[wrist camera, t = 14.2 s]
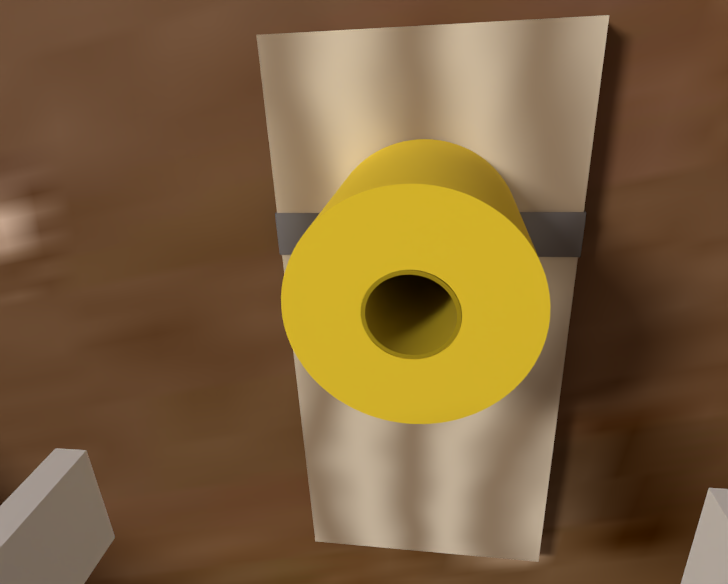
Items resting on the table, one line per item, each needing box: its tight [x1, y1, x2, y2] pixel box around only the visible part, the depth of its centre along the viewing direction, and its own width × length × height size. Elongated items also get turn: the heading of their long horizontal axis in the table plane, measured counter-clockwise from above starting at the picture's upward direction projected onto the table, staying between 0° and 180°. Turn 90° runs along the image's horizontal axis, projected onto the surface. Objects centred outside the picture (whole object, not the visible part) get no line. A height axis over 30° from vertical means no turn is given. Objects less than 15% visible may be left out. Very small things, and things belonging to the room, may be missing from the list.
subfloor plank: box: [257, 15, 609, 562], centre depth 32 cm, size 16×34×2 cm, turn 3°
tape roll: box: [281, 139, 550, 424], centre depth 24 cm, size 10×10×9 cm
